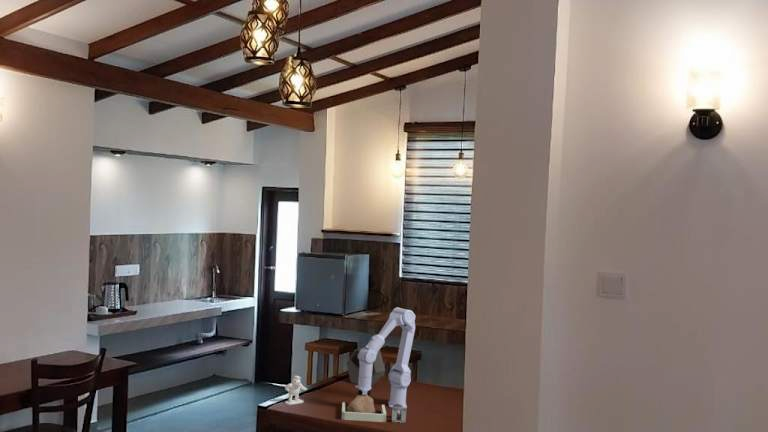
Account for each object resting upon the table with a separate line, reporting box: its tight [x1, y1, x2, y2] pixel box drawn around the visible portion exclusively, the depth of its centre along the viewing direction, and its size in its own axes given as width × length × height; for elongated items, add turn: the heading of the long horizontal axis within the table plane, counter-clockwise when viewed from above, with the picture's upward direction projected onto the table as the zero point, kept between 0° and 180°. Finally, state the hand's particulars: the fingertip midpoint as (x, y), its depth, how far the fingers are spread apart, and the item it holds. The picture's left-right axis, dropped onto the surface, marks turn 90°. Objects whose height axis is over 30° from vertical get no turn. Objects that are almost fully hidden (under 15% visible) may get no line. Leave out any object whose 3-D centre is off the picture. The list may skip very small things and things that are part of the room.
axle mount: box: [391, 406, 407, 424], centre depth 290 cm, size 2×6×6 cm, turn 93°
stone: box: [346, 394, 376, 414], centre depth 297 cm, size 12×9×10 cm
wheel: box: [391, 404, 403, 419], centre depth 295 cm, size 6×5×5 cm
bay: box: [341, 401, 387, 423], centre depth 296 cm, size 16×18×3 cm
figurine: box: [284, 375, 308, 406], centre depth 308 cm, size 9×7×12 cm
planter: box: [346, 347, 386, 387], centre depth 355 cm, size 17×8×21 cm
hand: (363, 407), depth 305 cm, fingers closed
